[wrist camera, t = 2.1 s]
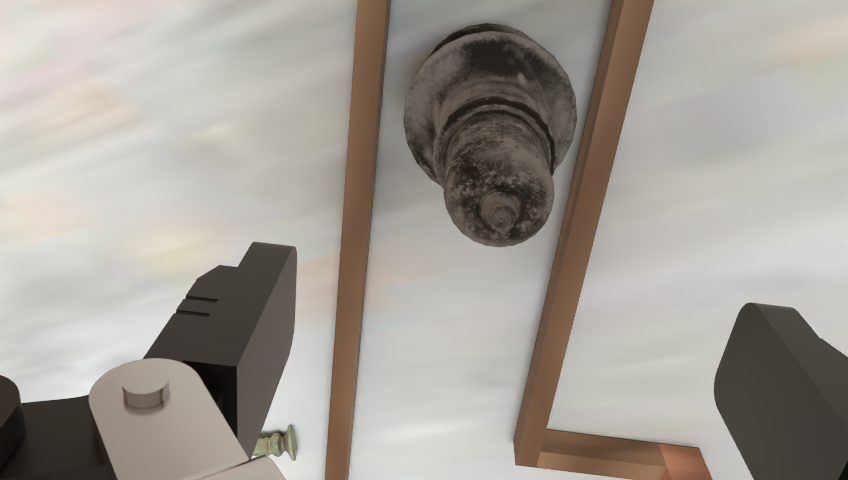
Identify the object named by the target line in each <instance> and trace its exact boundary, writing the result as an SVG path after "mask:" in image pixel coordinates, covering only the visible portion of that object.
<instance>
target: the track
mask: <svg viewBox="0 0 848 480" xmlns="http://www.w3.org/2000/svg"><path fill="white" fill-rule="evenodd" d="M390 3H391V0H358V5H357V20H356V34H355V49H354V64H353V78H352V93H351V107H350V122H349V136H348V151H347V165H346V180H345V194H344V209H343V224H342V238H341V253H340V267H339V282H338V296H337V311H336V325H335V340H334V354H333V369H332V384H331V398H330V413H329V427H328V442H327V456H326V471H325V480H348V474H349V463H350V452H351V441H352V429H353V418H354V407H355V396H356V384H357V373H358V362H359V351H360V340H361V328H362V317H363V306H364V295H365V283H366V272H367V261H368V250H369V238H370V227H371V216H372V205H373V193H374V182H375V171H376V160H377V149H378V137H379V126H380V115H381V104H382V92H383V81H384V70H385V59H386V47H387V36H388V25H389V14H390ZM653 3H654V0H613V4H612V8H611V12H610V17H609V21H608V26H607V30H606V35H605V39H604V43H603V48H602V52H601V57H600V61H599V65H598V70H597V74H596V79H595V83H594V88H593V92H592V96H591V101H590V105H589V110H588V114H587V118H586V123H585V127H584V132H583V136H582V141H581V145H580V149H579V154H578V158H577V163H576V167H575V172H574V176H573V180H572V185H571V189H570V194H569V198H568V202H567V207H566V211H565V216H564V220H563V225H562V229H561V233H560V238H559V242H558V247H557V251H556V255H555V260H554V264H553V269H552V273H551V278H550V282H549V286H548V291H547V295H546V300H545V304H544V308H543V313H542V317H541V322H540V326H539V331H538V335H537V339H536V344H535V348H534V353H533V357H532V361H531V366H530V370H529V375H528V379H527V384H526V388H525V392H524V397H523V401H522V406H521V410H520V414H519V419H518V423H517V428H516V432H515V437H514V441H513V442H514V453H515V463H516V465H519V466H527V467H536V468H544V469H552V470H560V471H568V472H576V473H584V474H592V475H601V476H609V477H617V478H625V479H633V480H712V478H711V475H710V473H709V471H708V468H707V466H706V464H705V461H704V459H703V457H702V454H701V452H700V450H699V448H692V447H684V446H676V445H668V444H660V443H652V442H644V441H635V440H627V439H619V438H611V437H603V436H595V435H587V434H579V433H571V432H563V431H554V430H546V428H547V424H548V420H549V416H550V412H551V408H552V404H553V400H554V396H555V392H556V388H557V384H558V380H559V376H560V372H561V368H562V364H563V360H564V356H565V352H566V348H567V344H568V341H569V337H570V333H571V329H572V325H573V321H574V317H575V313H576V309H577V305H578V301H579V297H580V293H581V289H582V285H583V281H584V277H585V273H586V269H587V265H588V261H589V257H590V253H591V249H592V245H593V241H594V237H595V233H596V229H597V225H598V221H599V217H600V213H601V209H602V205H603V201H604V197H605V193H606V189H607V186H608V182H609V178H610V174H611V170H612V166H613V162H614V158H615V154H616V150H617V146H618V142H619V138H620V134H621V130H622V126H623V122H624V118H625V114H626V110H627V106H628V102H629V98H630V94H631V90H632V86H633V82H634V78H635V74H636V70H637V66H638V62H639V58H640V54H641V50H642V46H643V42H644V38H645V34H646V31H647V27H648V23H649V19H650V15H651V11H652V7H653Z"/></svg>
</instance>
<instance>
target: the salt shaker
mask: <svg viewBox="0 0 848 480" xmlns="http://www.w3.org/2000/svg"><path fill="white" fill-rule="evenodd" d="M576 121H577V112H576V98H575V94H574V91H573V89H572V86H571V83H570V80H569V78H568V75H567V74H566V72H565V71H564V70H563V68H562V67H561V65H560V64H559V63H558V61H557V60H556V59H555V57H554V56H553V55H551V54H550V53H549V52H548V51H546V50H545V49H544V48H542V47H541V46H540V45H539V44H537V43H536V42H534V41H533V40H532V39H530V38H529V37H528V36H527V35H525V34H524V33H523V32H520V31H518V30H515V29H513V28H510V27H508V26H505V25H497V24H487V23H486V24H480V25H474V26H468V27H466V28H464V29H461V30H459V31H457V32H455V33H453V34H451V35H450V36H448V37H447V38H446V39H445V40H443V41H442V42H441V43H440V44H439V45H437V46H436V48H435V49H434V51H433V52H432V53H431V55H430V56H429V58H428V59H427V60H426V61H425V63H424V64H423V65H422V67H421V68H420V70H419V71H418V73H417V74H416V75H415V77H414V78H413V81H412V83H411V86H410V89H409V92H408V94H407V97H406V100H405V111H404V128H405V133H406V138H407V144H408V146H409V148H410V150H411V152H412V154H413V156H414V158H415V160H416V162H417V164H418V165H419V166H420V167H421V168H422V169H423V171H424V172H425V173H426V174H427V175H428V176H429V177H430V179H432V180H433V181H435V182H436V183H438V184H439V185H440V186H442V188H443V189H444V199H445V205H446V209H447V211H448V213H449V215H450V217H451V219H452V221H453V223H454V224H455V225H456V226H457V228H458V229H459V230H460V231H461V232H462V233H463V234H464V235H466V236H467V237H469V238H470V239H472V240H473V241H475V242H478V243H481V244H483V245H486V246H494V247H505V246H513V245H516V244H518V243H521V242H524V241H526V240H527V239H529V238H530V237H532V236H533V235H535V234H536V233H537V232H538V231H539V230H540V229H541V228H542V226H543V225H544V224H545V223H546V221H547V219H548V217H549V215H550V212H551V209H552V205H553V199H554V185H553V179H552V176H553V174H554V170H555V169H556V168H557V166H558V165H559V164H560V163H561V162H562V161H563V159H564V157H565V155H566V153H567V151H568V149H569V147H570V145H571V143H572V141H573V136H574V131H575V126H576Z"/></svg>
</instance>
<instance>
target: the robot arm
mask: <svg viewBox="0 0 848 480" xmlns="http://www.w3.org/2000/svg"><path fill="white" fill-rule="evenodd" d="M296 273H297V251H296V247H294V246H286V245H278V244H269V243H261V242H253V243H252V244H251V246H250V247H249V249H248V251H247V252H246V254H245V256H244V257H243V259H242V261H241V262H240V264H239V266H238V267H231V266H223V265H219V266H217V267H216V268H214V269H212V270H211V271H209V272H207V273H206V274H204V275H202V276H201V277H199V278H198V279H197V280H196V282H195V283H194V284H193V286H192V287H191V289H190V290H189V292H188V293H187V295H186V299H183V301H182V302H181V304H180V305H179V306H178V308H177V309H176V313H174V314H173V315H172V317H171V318H170V320H169V321H168V323H167V324H166V326H165V327H164V329H163V330H162V331H161V333H160V334H159V336H158V337H157V339H156V340H155V342H154V343H153V345H152V346H151V348H150V349H149V351H148V352H147V354H146V355H145V356H144V358H143V359H141V360H137V361H132V362H129V363H125V364H123V365H120V366H118V367H116V368H114V369H112V370H110V371H108V372H107V373H105V374H104V375H103V376H101V377H100V378H99V379H98V380H97V381H96V382H95V384H94V385H93V387H92V388H91V391H90V393H89V395H86V396H82V397H76V398H69V399H59V400H49V401H39V402H29V403H21V399H20V394H19V390H18V387H17V386H16V385H15V383H14V382H12V381H11V380H10V379H8V378H6V377H4V376H1V375H0V480H286V479H285V478H284V476H283V475H282V473H281V472H280V470H279V468H278V467H277V465H276V464H275V463H274V461H273V460H272V459H271V458H269V457H268V456H266V455H261V456H258V457H256V458H253V459H251V458H252V455H253V452H254V449H255V447H256V444H257V441H258V438H259V436H260V433H261V430H262V428H263V425H264V422H265V419H266V417H267V414H268V411H269V408H270V406H271V403H272V400H273V397H274V395H275V392H276V389H277V387H278V384H279V381H280V378H281V376H282V373H283V370H284V367H285V365H286V362H287V359H288V356H289V353H290V349H291V345H292V340H293V333H294V324H295V300H296ZM714 397H715V402H716V406H717V408H718V410H719V412H720V414H721V416H722V418H723V420H724V422H725V424H726V426H727V428H728V430H729V432H730V434H731V436H732V438H733V440H734V441H735V443H736V445H737V447H738V449H739V451H740V453H741V455H742V457H743V459H744V461H745V463H746V465H747V467H748V469H749V471H750V473H751V475H752V477H753V479H754V480H848V357H847V356H845V355H844V354H842V353H841V352H840V351H838V350H837V349H835V348H834V347H833V346H831V345H830V344H828V343H827V342H826V341H824V340H823V339H821V338H819V337H818V336H817V334H816V333H815V332H814V331H813V329H812V328H811V327H810V326H809V325H808V323H807V322H806V321H805V320H804V319H803V317H802V316H801V315H800V314H799V313H798V311H797V310H795V309H794V308H791V307H783V306H775V305H766V304H758V303H747V304H745V305H744V306H743V307H742V308H741V310H740V312H739V314H738V316H737V319H736V322H735V324H734V327H733V330H732V332H731V335H730V337H729V340H728V343H727V345H726V348H725V351H724V353H723V356H722V359H721V361H720V364H719V367H718V369H717V372H716V376H715V382H714Z"/></svg>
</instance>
